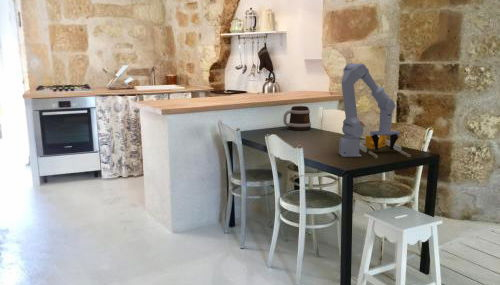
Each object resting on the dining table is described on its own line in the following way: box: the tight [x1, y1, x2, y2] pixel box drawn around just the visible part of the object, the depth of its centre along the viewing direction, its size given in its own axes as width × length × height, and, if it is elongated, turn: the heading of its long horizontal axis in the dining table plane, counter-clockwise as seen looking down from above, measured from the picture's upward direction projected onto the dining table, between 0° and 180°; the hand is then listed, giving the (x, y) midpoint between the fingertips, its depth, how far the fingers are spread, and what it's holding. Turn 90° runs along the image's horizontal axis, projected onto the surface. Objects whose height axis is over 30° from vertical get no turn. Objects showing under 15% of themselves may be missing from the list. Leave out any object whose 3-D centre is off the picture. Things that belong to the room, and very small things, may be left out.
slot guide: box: [368, 150, 412, 159], centre depth 210 cm, size 17×10×1 cm, turn 94°
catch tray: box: [359, 139, 402, 153], centre depth 228 cm, size 19×21×2 cm
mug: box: [283, 105, 312, 132], centre depth 286 cm, size 20×15×15 cm
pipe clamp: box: [364, 134, 387, 150], centre depth 230 cm, size 12×4×6 cm, turn 118°
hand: (383, 149), depth 217 cm, fingers open, 7 cm apart
